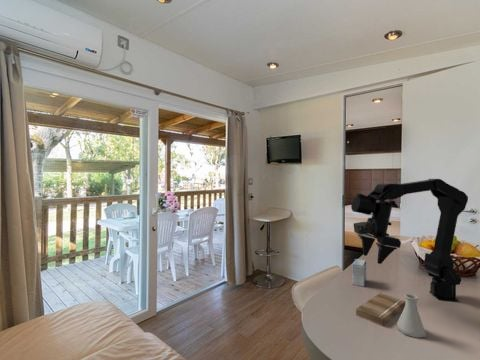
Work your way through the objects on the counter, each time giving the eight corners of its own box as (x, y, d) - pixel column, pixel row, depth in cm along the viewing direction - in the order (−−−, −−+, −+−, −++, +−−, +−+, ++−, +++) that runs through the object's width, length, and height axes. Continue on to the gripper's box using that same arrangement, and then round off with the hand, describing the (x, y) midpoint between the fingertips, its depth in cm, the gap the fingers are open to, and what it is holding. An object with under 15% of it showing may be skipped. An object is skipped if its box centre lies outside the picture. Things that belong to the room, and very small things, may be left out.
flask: (431, 340, 69) (432, 303, 69) (402, 336, 71) (402, 300, 70) (418, 325, 76) (419, 291, 76) (392, 322, 78) (392, 289, 78)
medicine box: (364, 287, 103) (364, 265, 103) (352, 284, 105) (352, 263, 105) (366, 280, 110) (366, 260, 109) (354, 278, 112) (355, 258, 112)
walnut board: (380, 298, 93) (380, 292, 93) (405, 306, 87) (405, 300, 87) (356, 314, 82) (356, 308, 82) (382, 326, 76) (382, 319, 76)
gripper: (347, 209, 102) (339, 248, 102) (373, 216, 83) (364, 263, 83) (374, 215, 103) (366, 253, 102) (406, 223, 84) (396, 270, 84)
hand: (371, 259), depth 93 cm, fingers open, 9 cm apart
